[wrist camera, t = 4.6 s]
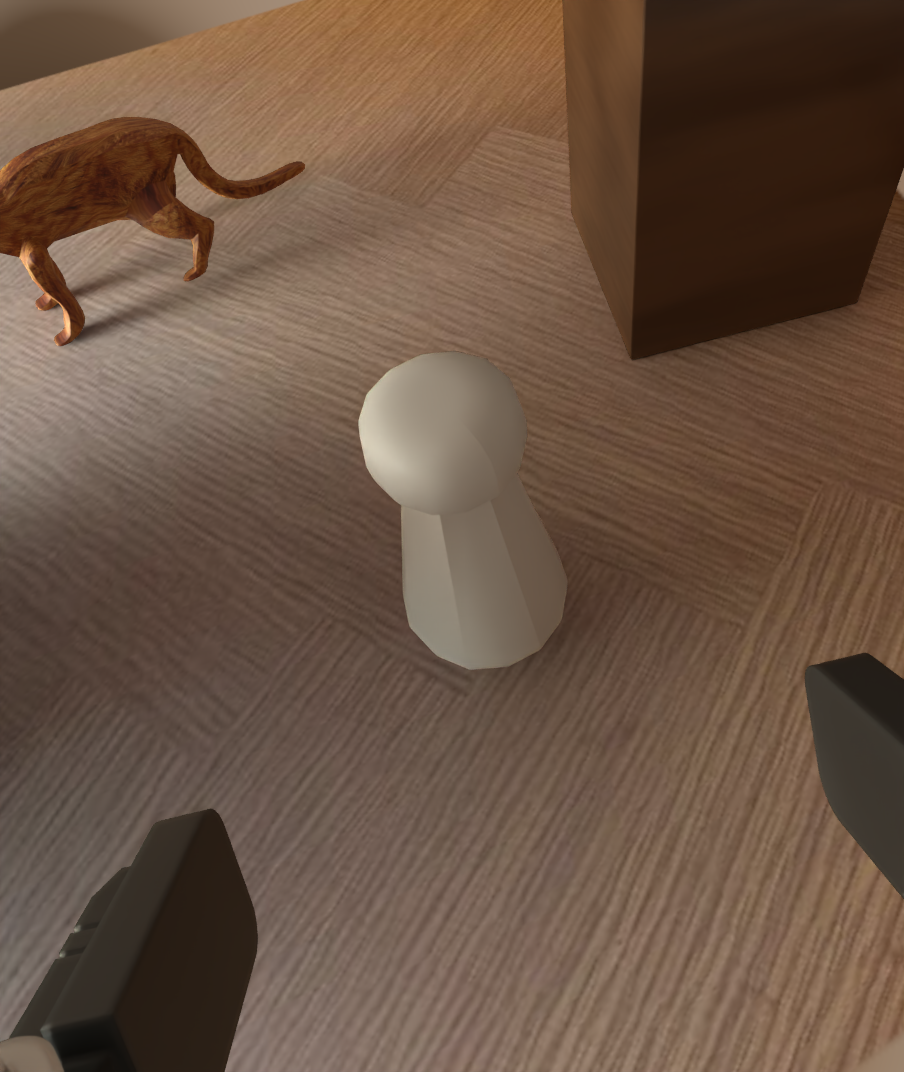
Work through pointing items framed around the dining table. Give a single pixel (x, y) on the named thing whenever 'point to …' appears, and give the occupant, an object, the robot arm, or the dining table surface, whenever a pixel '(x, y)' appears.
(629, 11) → the stand
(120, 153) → the cat figurine
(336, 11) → the dining table surface
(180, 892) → the robot arm
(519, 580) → the salt shaker
